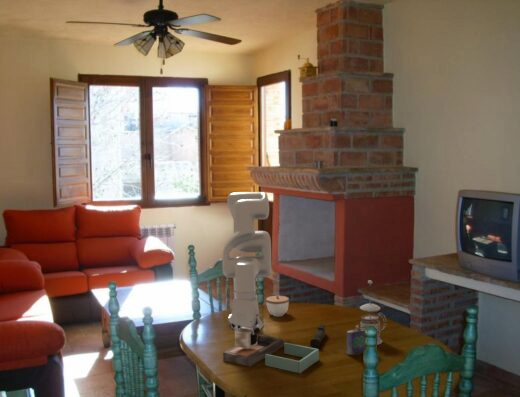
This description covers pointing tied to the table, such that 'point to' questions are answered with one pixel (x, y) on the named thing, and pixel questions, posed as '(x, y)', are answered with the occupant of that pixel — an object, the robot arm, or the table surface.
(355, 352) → the flask
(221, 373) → the table surface
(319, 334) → the hand tool
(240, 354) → the dark brown shallow tray
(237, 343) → the cube
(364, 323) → the french press
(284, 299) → the lidded jar
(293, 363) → the teal open tray
